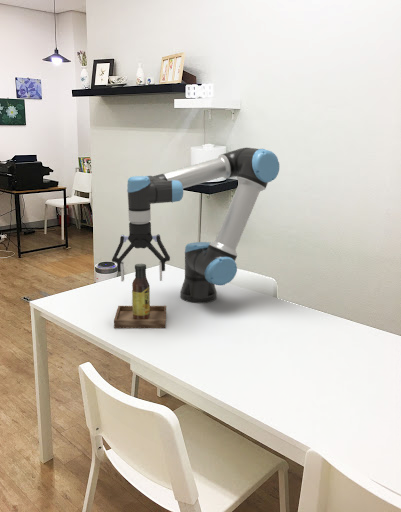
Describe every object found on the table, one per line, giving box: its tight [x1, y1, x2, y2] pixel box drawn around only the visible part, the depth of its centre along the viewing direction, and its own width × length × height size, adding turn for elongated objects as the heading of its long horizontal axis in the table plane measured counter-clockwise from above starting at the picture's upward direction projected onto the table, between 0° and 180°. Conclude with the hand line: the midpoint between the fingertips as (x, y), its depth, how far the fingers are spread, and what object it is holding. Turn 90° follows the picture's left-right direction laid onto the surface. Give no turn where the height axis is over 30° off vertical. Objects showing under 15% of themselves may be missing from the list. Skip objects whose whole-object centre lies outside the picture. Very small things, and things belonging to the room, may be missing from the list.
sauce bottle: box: [131, 263, 151, 320], centre depth 176 cm, size 7×6×20 cm
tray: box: [113, 305, 167, 329], centre depth 178 cm, size 18×14×3 cm
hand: (141, 280), depth 175 cm, fingers open, 13 cm apart
